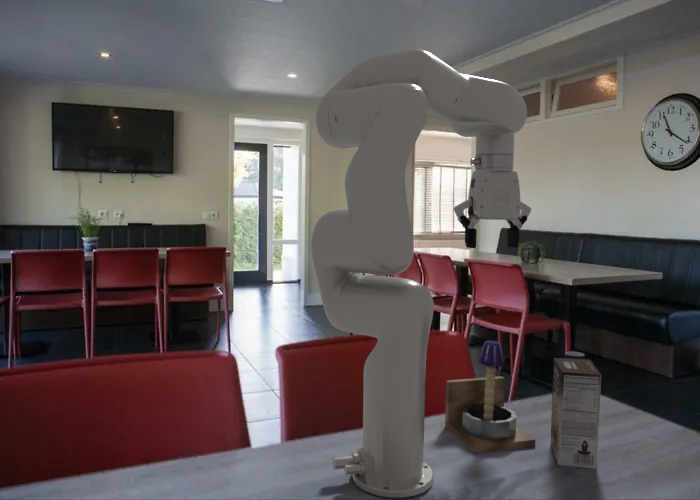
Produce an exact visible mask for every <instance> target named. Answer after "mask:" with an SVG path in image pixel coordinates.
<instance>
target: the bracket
mask: <svg viewBox="0 0 700 500" xmlns="http://www.w3.org/2000/svg"><path fill="white" fill-rule="evenodd" d="M485 381H486V376H485V377H475V378H462V379H448V380H446V382H445V421H444V423H445V425H444V427H445V428H446V429H447V430H448V431H450V432H451V434H453V435H454V436H455V437H456V438H457V439H459V441H460V442H461V443H463V444H464V445H466V447H467V448H468V449H469V450H471V451H472V452H473V453H474V454H478V453H479V454H480V453H488V452H495V451H503V450H504V451H505V450H512V449H514V450H516V449H523V448H530V447H536V439H535V438H534V437H532V436H531V435H530V434H528V433H527V432H525V431H524V430H522V429H521V428H519V427H518V426H516V436H514V437H512V438H510V439H509V440H500V441H492V440H483V439H479V438H476V437H473V436H470V435H468V434H467V433H466V432H464V431H463V430H462V414H463V408H464V407H466V406H468V405H470V404H480V403H484V398H485V388H486V386H485ZM494 381H495V387H494V396H493V397H494V403H493V404H496V405H499V406H503V407H505V382H506V377H504V376H495V379H494Z"/></svg>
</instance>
